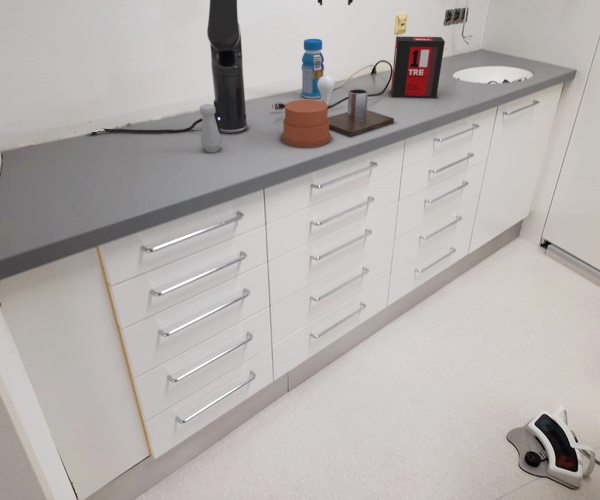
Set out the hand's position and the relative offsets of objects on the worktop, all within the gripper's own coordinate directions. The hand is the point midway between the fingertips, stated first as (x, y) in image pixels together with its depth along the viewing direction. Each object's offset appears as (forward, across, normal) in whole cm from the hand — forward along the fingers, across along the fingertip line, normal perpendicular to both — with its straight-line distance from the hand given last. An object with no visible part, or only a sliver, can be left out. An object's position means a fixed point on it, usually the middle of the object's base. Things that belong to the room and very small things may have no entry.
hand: (334, 4), depth 144 cm
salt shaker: (+34, +35, +32) cm, 59 cm away
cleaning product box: (+34, -32, -27) cm, 54 cm away
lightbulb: (+34, +2, -10) cm, 36 cm away
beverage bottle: (+34, +7, -24) cm, 42 cm away
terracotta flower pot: (+34, +8, +22) cm, 41 cm away
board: (+34, -8, +8) cm, 36 cm away
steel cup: (+33, -8, +8) cm, 35 cm away
